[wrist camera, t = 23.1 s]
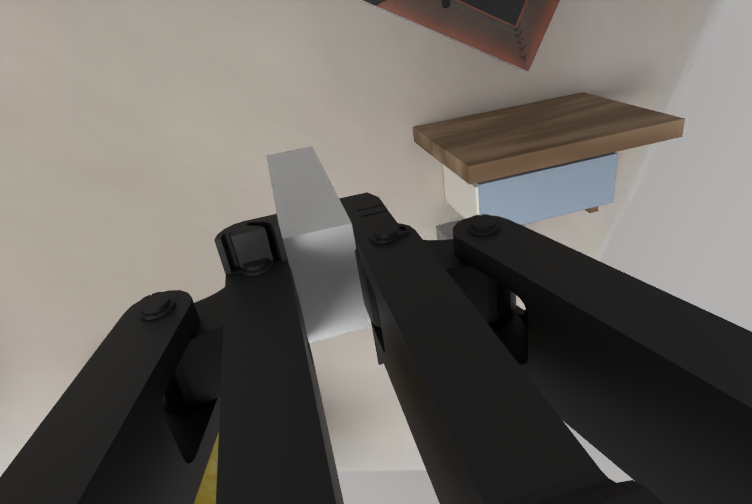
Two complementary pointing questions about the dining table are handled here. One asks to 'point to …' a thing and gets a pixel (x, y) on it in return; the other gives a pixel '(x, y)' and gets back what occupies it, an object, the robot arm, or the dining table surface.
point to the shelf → (542, 135)
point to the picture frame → (481, 24)
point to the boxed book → (536, 190)
